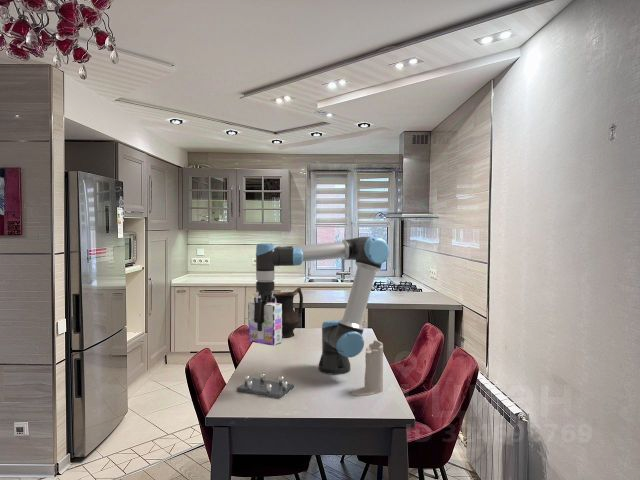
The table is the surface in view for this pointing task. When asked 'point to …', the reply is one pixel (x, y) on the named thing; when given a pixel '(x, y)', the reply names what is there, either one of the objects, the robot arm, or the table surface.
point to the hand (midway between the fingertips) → (265, 336)
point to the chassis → (265, 387)
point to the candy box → (266, 324)
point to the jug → (289, 311)
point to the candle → (373, 370)
